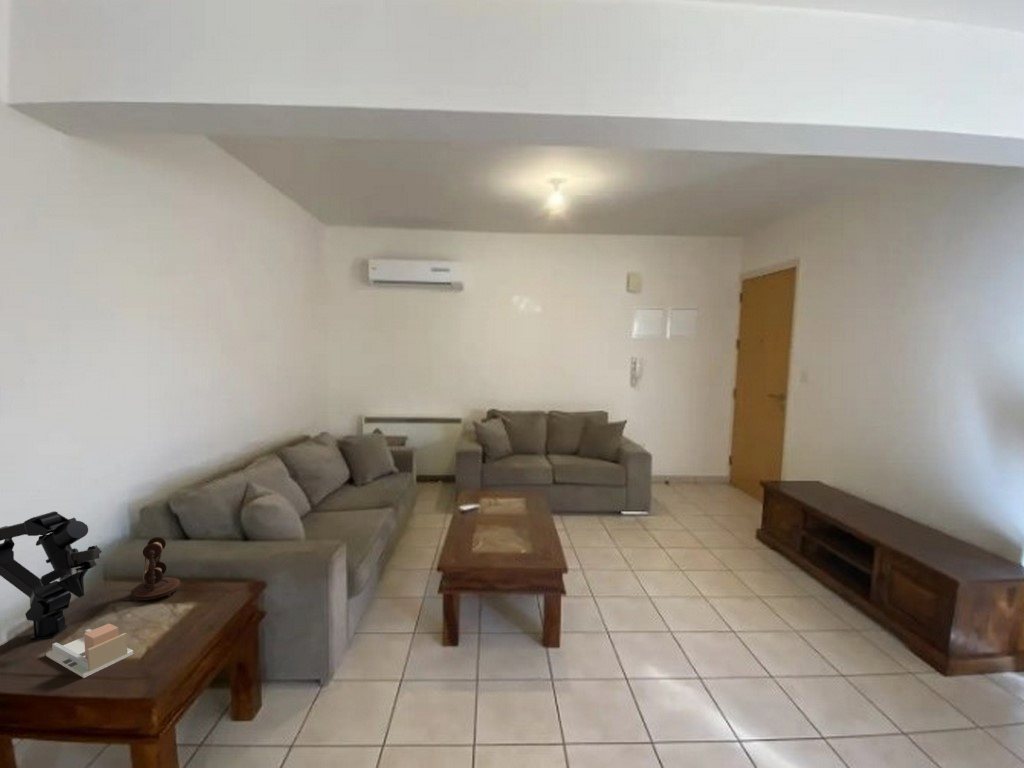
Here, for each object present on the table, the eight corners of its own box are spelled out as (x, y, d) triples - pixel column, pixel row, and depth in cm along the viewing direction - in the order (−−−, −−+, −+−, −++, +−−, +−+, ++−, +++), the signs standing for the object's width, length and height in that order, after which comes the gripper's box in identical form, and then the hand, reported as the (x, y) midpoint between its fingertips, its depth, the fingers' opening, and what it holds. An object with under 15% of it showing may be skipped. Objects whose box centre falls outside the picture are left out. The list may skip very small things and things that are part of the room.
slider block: (85, 660, 140) (84, 633, 140) (110, 649, 145) (109, 623, 145) (94, 666, 138) (93, 638, 137) (119, 654, 143) (118, 627, 143)
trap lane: (46, 656, 144) (44, 632, 144) (95, 635, 155) (94, 613, 154) (83, 677, 135) (82, 653, 134) (133, 654, 146) (132, 631, 145)
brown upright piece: (136, 588, 185) (134, 536, 184) (183, 581, 191) (182, 530, 190) (125, 607, 172) (123, 551, 170) (176, 599, 178) (174, 544, 176)
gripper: (72, 540, 147) (95, 587, 146) (103, 534, 164) (124, 576, 164) (28, 561, 143) (52, 609, 143) (65, 552, 161) (86, 595, 160)
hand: (81, 596), depth 152 cm, fingers closed
